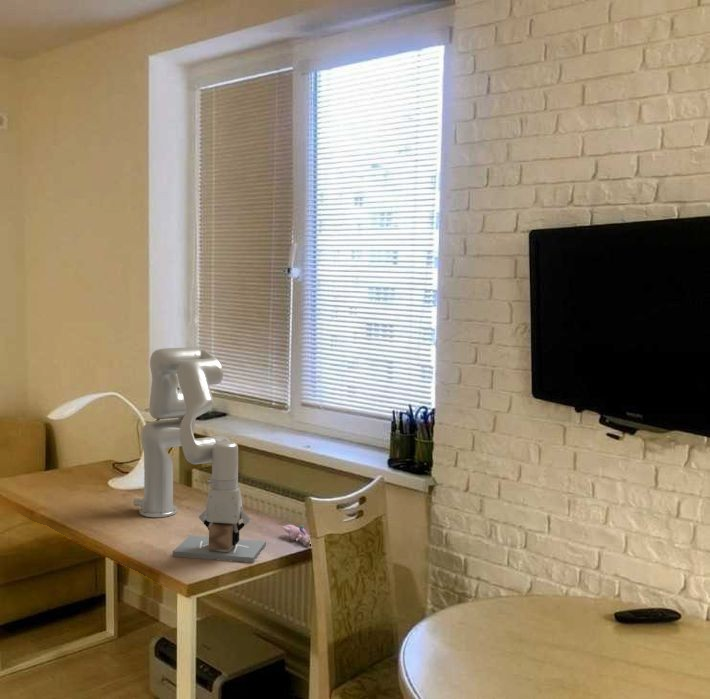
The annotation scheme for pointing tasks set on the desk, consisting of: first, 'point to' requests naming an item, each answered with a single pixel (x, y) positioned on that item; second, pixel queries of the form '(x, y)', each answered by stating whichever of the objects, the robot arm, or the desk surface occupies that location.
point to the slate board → (200, 549)
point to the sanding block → (220, 537)
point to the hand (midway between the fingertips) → (224, 542)
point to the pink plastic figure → (297, 534)
